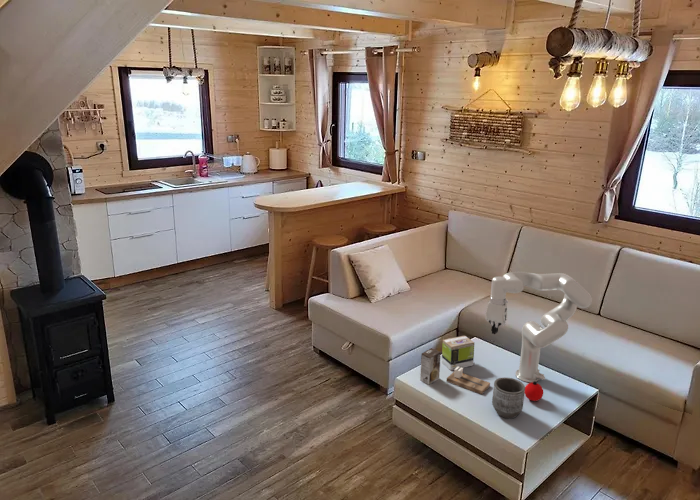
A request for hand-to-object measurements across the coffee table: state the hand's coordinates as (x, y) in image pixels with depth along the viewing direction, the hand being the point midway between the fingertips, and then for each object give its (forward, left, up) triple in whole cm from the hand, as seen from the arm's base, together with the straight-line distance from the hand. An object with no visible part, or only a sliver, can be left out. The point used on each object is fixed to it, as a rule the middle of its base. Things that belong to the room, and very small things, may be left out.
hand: (494, 332), depth 272 cm
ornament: (-25, +5, -27) cm, 37 cm away
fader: (+13, +12, -25) cm, 30 cm away
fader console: (+7, +12, -27) cm, 30 cm away
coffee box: (+25, +21, -27) cm, 43 cm away
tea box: (+21, -3, -27) cm, 35 cm away
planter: (-19, +24, -27) cm, 41 cm away
